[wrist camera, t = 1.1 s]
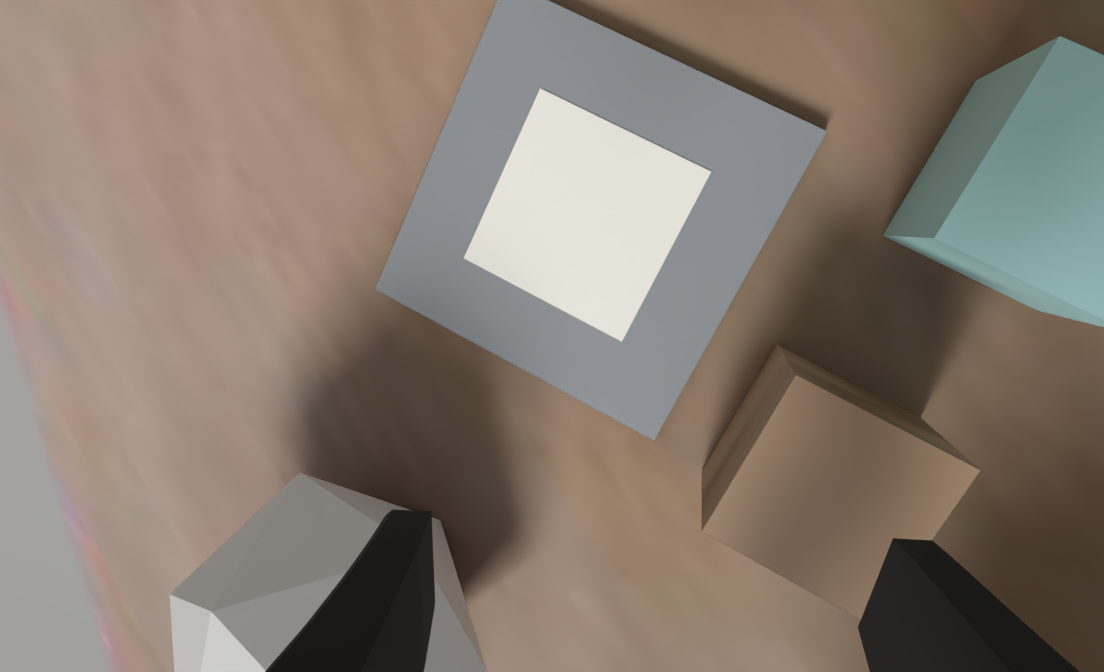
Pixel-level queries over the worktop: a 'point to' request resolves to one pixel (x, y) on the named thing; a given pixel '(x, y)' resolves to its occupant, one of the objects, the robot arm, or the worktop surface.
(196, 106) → the worktop surface
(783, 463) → the walnut block
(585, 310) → the grey square plate
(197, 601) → the die
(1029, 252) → the teal block
